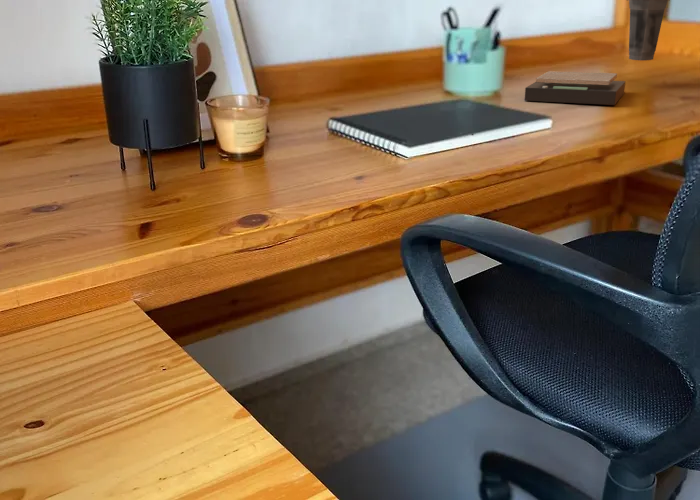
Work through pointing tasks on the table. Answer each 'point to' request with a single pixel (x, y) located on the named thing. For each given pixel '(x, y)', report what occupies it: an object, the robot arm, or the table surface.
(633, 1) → the beverage cup
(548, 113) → the table surface
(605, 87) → the scale
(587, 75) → the pan
